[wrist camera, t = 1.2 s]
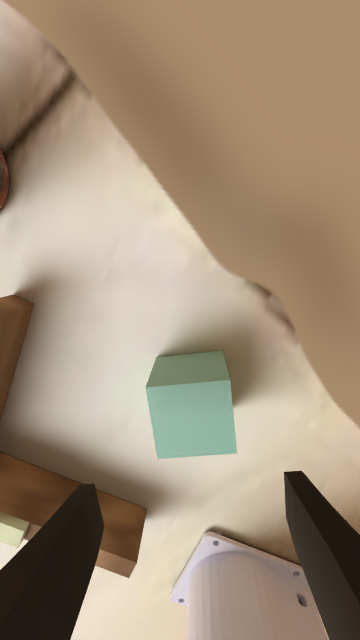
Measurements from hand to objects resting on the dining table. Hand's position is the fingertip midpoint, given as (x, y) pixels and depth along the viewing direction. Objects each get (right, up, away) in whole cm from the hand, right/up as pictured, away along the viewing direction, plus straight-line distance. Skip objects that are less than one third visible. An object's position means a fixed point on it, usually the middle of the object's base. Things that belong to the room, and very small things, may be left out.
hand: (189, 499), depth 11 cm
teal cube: (+1, +2, +9) cm, 10 cm away
